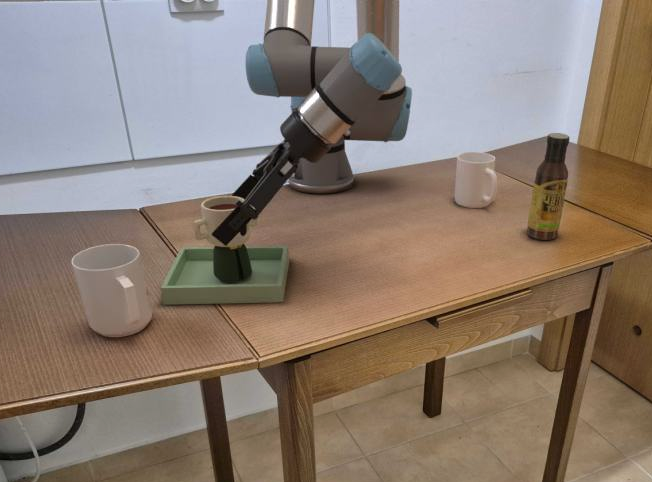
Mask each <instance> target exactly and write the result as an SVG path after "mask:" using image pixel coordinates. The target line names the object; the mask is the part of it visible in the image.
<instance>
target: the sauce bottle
mask: <svg viewBox="0 0 652 482" xmlns="http://www.w3.org/2000/svg"><path fill="white" fill-rule="evenodd" d="M570 138H571V136H570V135H568V134H565V133H562V132H551V133H548V134H547V139H546V150H545V155H544V159H543V161H542V162H541V163H540V165H539V166H538V167H537V168H536V173H535V179H534V181H533V188H532V195H531V201H530V208H529V215H528V219H527V229H526V233H527V235H528V236H529V237H531V238H533V239H536V240H540V241H550V240H553V239H556V238H557V237H558V231H559V229H560V225H561V219H562V213H563V209H564V203H565V197H566V193H567V188H568V181H569V179H568V178H569V170H568V167H567V165H566V163H565V162H566V154H567V149H568V145H569V144H570Z"/></svg>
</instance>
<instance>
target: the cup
mask: <svg viewBox="0 0 652 482" xmlns="http://www.w3.org/2000/svg"><path fill="white" fill-rule="evenodd" d="M495 167H496V156H494V155H492V154H491V153H486V152H481V151H466V152H462V153H459V154H458V155H457V156H456V167H455V168H456V169H455V185H454V202H455V203H456V204H457V205H458V206H460V207H463V208H468V209H481V208H486V207H488V206H489V205H490V204H491V203H492V202H494V201H495V199H496V197H497V194H498V193H497V191H498V177H497V174H496V172H495Z"/></svg>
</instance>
